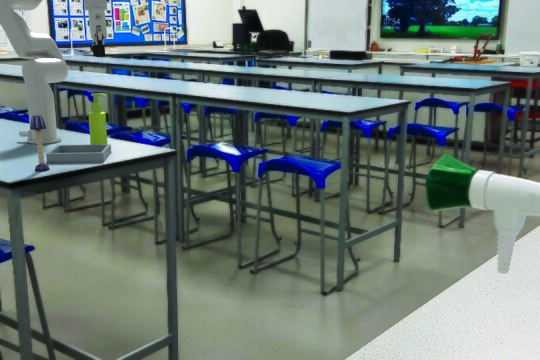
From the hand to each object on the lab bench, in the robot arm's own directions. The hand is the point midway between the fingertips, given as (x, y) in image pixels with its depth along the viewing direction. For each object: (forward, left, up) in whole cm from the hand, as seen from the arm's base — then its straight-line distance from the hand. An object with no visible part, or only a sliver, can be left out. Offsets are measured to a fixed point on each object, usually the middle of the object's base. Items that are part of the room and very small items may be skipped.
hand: (99, 56), depth 210 cm
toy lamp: (-14, -33, -33) cm, 49 cm away
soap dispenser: (-2, +1, -33) cm, 33 cm away
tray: (-6, -15, -33) cm, 37 cm away
